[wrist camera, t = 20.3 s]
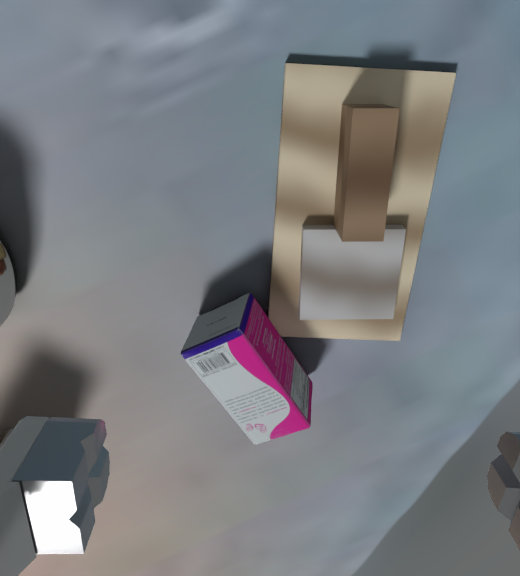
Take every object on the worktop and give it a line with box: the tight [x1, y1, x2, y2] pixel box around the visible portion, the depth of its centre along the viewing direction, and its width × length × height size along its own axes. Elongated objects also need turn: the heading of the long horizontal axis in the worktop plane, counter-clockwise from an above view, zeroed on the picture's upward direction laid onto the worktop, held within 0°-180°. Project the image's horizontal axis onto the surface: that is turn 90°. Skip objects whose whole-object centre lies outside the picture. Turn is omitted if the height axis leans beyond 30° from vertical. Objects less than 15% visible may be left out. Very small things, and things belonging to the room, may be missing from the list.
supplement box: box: [181, 293, 312, 445], centre depth 40 cm, size 6×6×12 cm
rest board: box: [268, 63, 456, 341], centre depth 37 cm, size 22×12×1 cm, turn 177°
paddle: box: [298, 104, 406, 320], centre depth 35 cm, size 17×8×4 cm, turn 0°
